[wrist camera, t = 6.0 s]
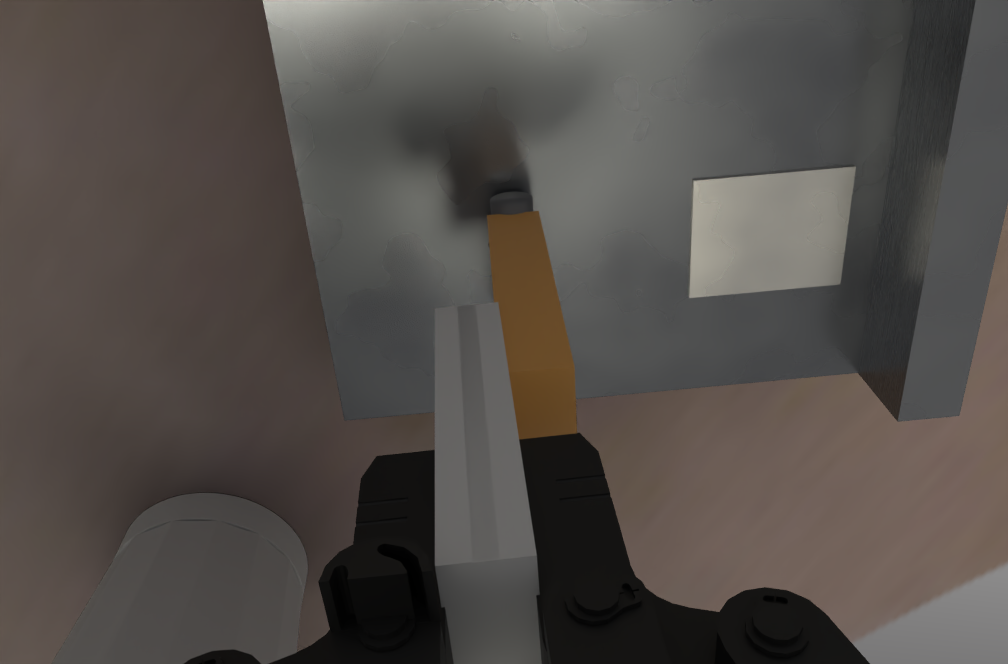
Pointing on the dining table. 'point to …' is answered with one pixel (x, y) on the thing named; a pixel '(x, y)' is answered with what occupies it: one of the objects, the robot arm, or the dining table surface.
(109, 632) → the cup
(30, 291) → the dining table surface
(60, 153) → the dining table surface
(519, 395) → the paddle
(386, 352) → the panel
